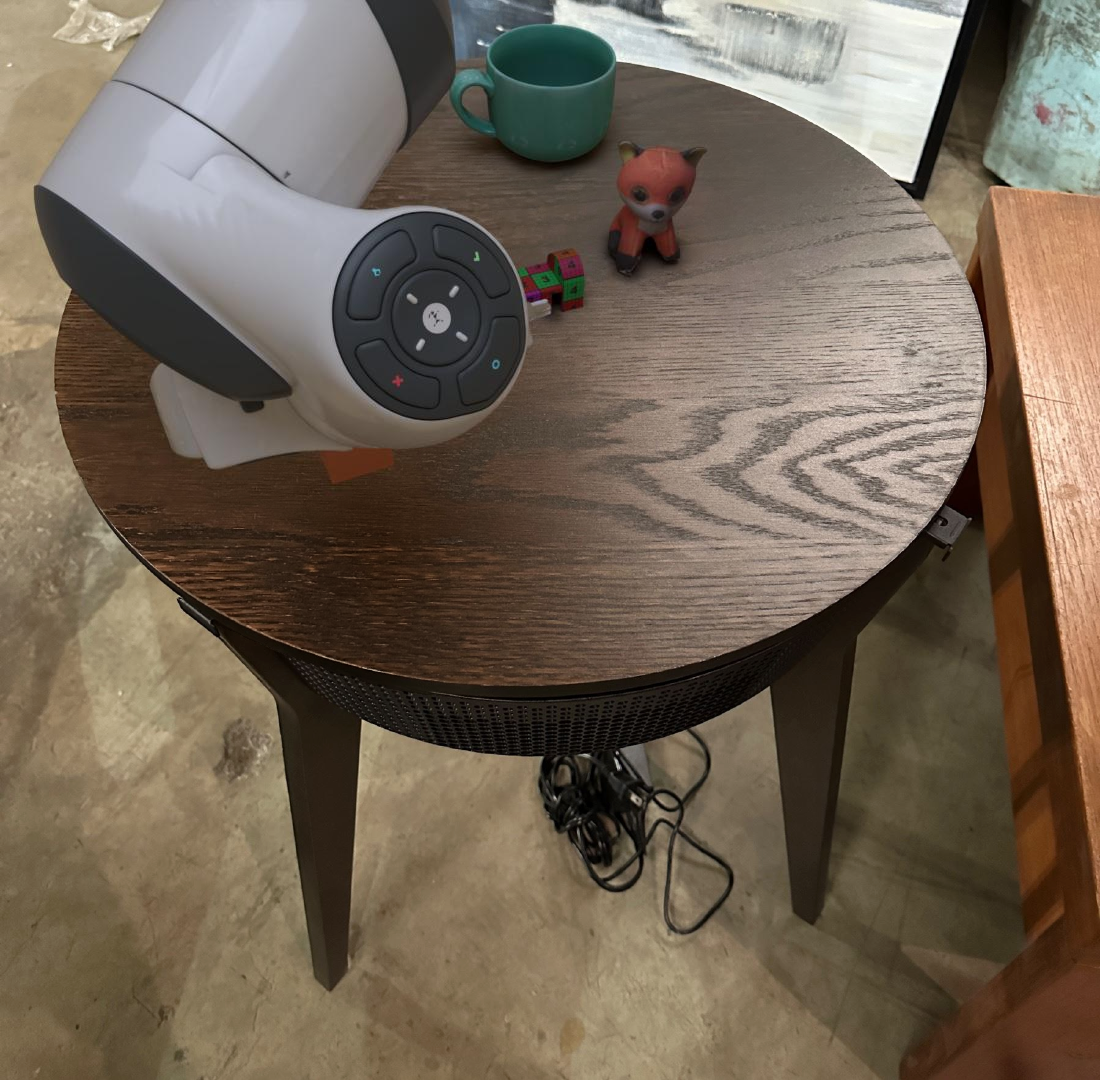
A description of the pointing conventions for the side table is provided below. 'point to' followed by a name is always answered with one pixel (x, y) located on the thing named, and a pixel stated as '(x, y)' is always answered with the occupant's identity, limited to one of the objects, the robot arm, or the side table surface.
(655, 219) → the stuffed fox
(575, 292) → the numbered block arch
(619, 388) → the side table surface
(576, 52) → the mug
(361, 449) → the back pad
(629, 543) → the side table surface
